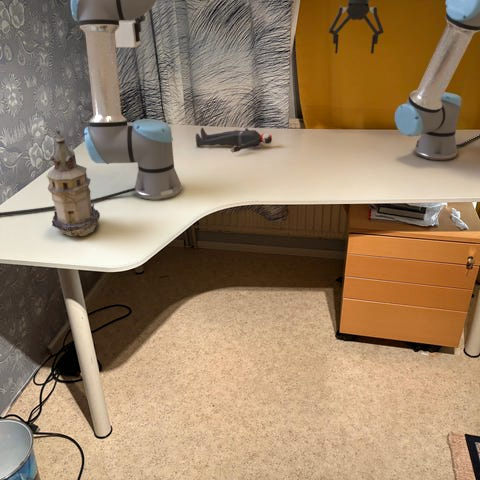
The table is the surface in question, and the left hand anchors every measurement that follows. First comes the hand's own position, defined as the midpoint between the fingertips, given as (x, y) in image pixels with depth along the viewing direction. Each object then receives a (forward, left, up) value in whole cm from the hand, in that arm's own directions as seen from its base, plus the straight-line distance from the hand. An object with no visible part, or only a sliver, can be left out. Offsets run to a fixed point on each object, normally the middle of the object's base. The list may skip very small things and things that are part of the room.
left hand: (127, 41), depth 208 cm
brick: (0, 0, -2) cm, 2 cm away
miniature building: (-11, -81, -39) cm, 91 cm away
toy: (+40, -16, -39) cm, 58 cm away
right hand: (+87, -12, -5) cm, 88 cm away
